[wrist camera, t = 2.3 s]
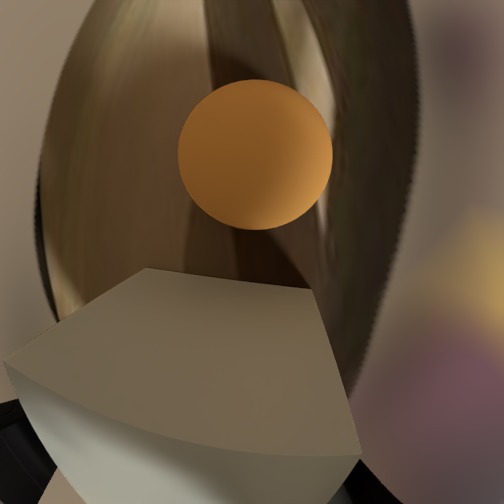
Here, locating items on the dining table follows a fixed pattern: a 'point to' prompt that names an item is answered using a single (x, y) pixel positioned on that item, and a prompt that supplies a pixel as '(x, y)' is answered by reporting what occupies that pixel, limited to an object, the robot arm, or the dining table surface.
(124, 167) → the dining table surface
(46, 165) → the dining table surface
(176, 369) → the white rectangular box
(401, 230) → the dining table surface
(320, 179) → the ball
